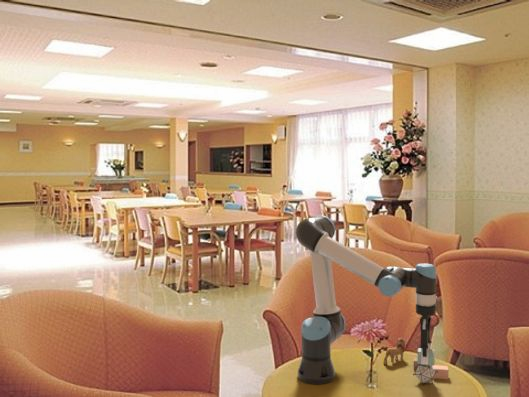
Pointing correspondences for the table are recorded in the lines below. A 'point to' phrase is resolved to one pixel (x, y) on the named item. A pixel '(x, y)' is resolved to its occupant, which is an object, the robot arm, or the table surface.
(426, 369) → the game die
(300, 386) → the table surface
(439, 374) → the terracotta block
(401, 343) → the lion figurine
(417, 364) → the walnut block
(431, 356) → the teal block
